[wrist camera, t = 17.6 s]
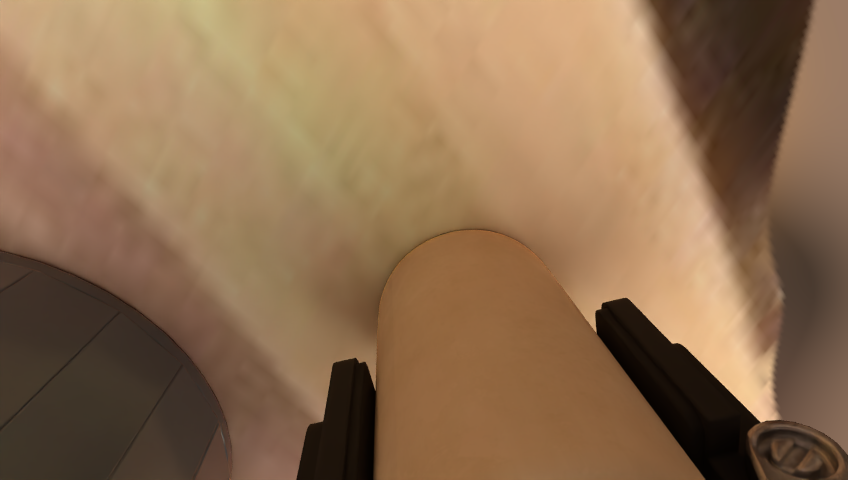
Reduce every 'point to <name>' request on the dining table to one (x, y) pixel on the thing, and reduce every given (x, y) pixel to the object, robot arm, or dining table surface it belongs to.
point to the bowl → (97, 387)
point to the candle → (503, 376)
